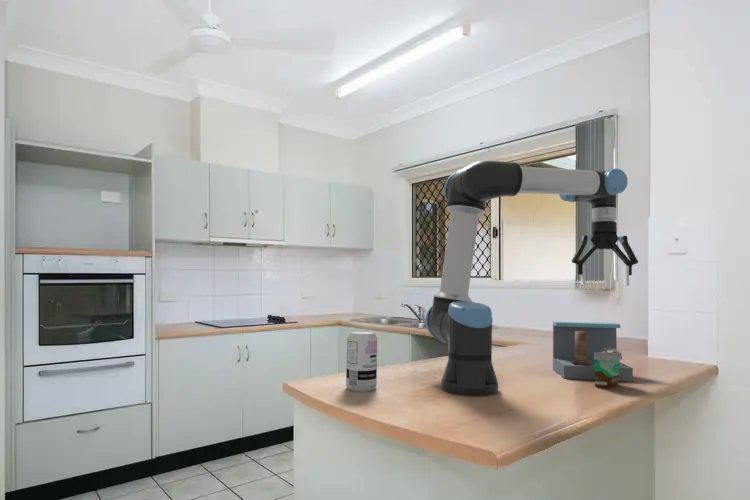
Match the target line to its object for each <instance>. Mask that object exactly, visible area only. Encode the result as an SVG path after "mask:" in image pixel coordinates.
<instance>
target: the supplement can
mask: <svg viewBox="0 0 750 500" xmlns="http://www.w3.org/2000/svg"><path fill="white" fill-rule="evenodd" d="M377 374H378V336H377V334H376V332H375V331H370V330H368V331H367V330H356V331H355V330H353V331H349V334H348V336H347V338H346V374H345V375H346V377H345V378H346V379H345V382H346V383H345V386H346V388H348V390H349V391H352V392H360V393H361V392H362V393H363V392H371V391H374V390H375V389H376V388H377V387H378V386H377V383H378V382H377V381H378V380H377V379H378V378H377V377H378V375H377Z"/></svg>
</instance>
